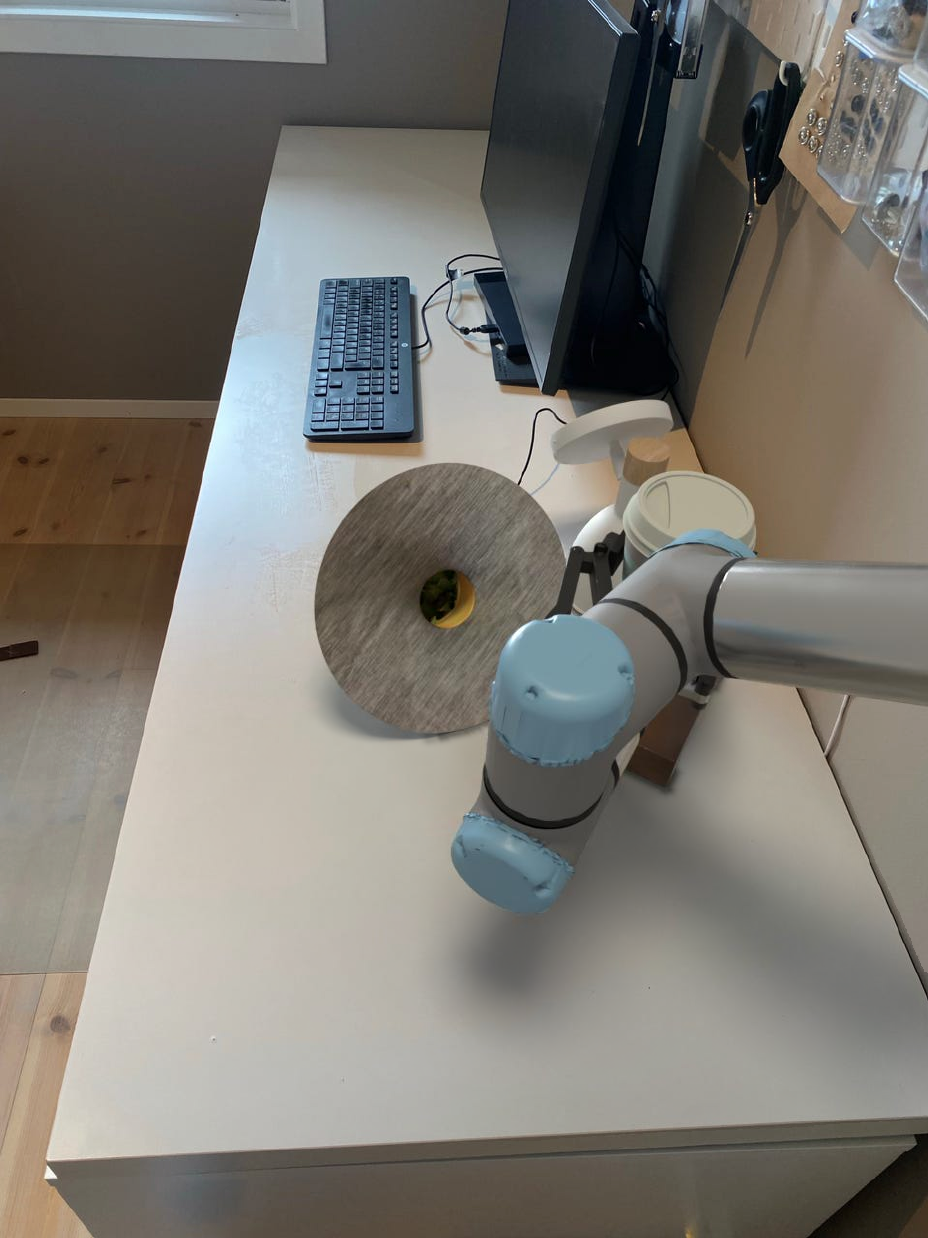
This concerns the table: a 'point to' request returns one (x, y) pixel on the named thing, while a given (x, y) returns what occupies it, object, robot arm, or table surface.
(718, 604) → the robot arm
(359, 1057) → the table surface
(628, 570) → the coffee cup
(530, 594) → the grey round piece
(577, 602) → the light fixture
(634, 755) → the wooden trinket box
